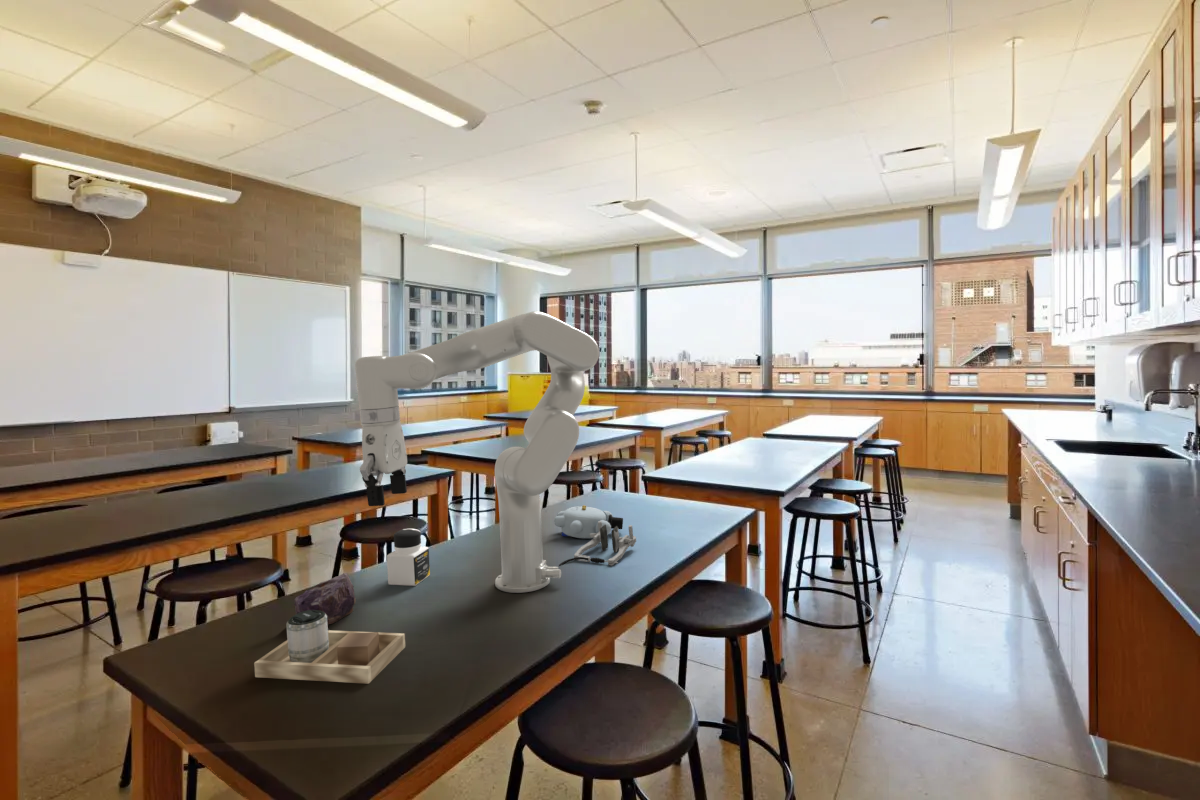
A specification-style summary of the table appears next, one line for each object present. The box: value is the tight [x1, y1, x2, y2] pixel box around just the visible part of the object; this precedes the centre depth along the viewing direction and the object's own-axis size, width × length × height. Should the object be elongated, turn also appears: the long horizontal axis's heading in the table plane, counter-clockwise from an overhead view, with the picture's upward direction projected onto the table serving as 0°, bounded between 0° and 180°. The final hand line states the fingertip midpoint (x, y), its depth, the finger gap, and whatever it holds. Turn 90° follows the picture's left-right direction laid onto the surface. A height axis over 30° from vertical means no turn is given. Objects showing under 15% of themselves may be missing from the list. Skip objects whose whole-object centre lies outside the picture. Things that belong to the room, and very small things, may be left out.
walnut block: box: [337, 631, 380, 666], centre depth 98 cm, size 5×5×4 cm
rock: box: [294, 572, 357, 626], centre depth 116 cm, size 12×9×10 cm
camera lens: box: [285, 610, 329, 663], centre depth 100 cm, size 6×6×8 cm
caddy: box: [253, 629, 406, 685], centre depth 99 cm, size 20×12×3 cm, turn 81°
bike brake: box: [558, 521, 637, 567], centre depth 150 cm, size 14×7×20 cm
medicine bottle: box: [386, 528, 431, 587], centre depth 138 cm, size 7×7×12 cm
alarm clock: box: [553, 505, 624, 539], centre depth 172 cm, size 17×8×20 cm
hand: (388, 499), depth 119 cm, fingers open, 9 cm apart
